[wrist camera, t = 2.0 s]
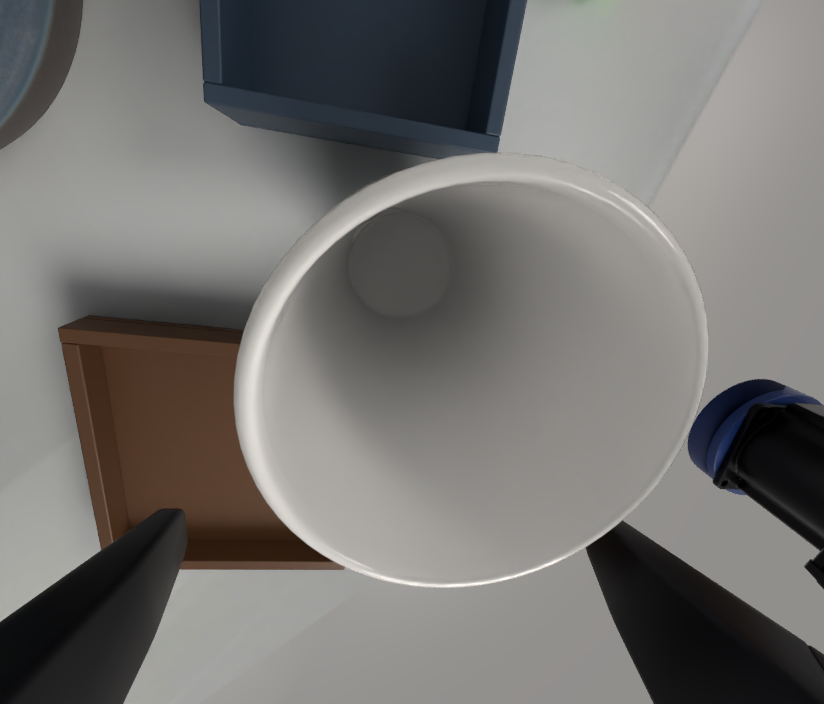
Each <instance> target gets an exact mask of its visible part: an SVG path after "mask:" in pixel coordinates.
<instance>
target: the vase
mask: <svg viewBox="0 0 824 704" xmlns="http://www.w3.org/2000/svg"><path fill="white" fill-rule="evenodd" d="M82 9H83V0H0V149H2V148H4V147H5V146H7V145H8V144H10V143H11V142H13V141H14V140H16V139H17V138H18V137H20V136H21V135H23V134H24V133H25V132H26V131H27V130H28V129H30V128H31V127H32V126H33V125H34V124H35V123H36V122H37V121H38V120H39V119H40V118H41V116H42V115H43V114H44V113H45V112H46V111H47V109H48V108H49V106H50V105H51V104H52V102H53V101H54V99H55V98H56V96H57V94H58V93H59V91H60V89H61V87H62V85H63V83H64V81H65V79H66V77H67V74H68V72H69V70H70V67H71V64H72V61H73V58H74V55H75V52H76V48H77V43H78V39H79V34H80V27H81V20H82Z"/></svg>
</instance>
